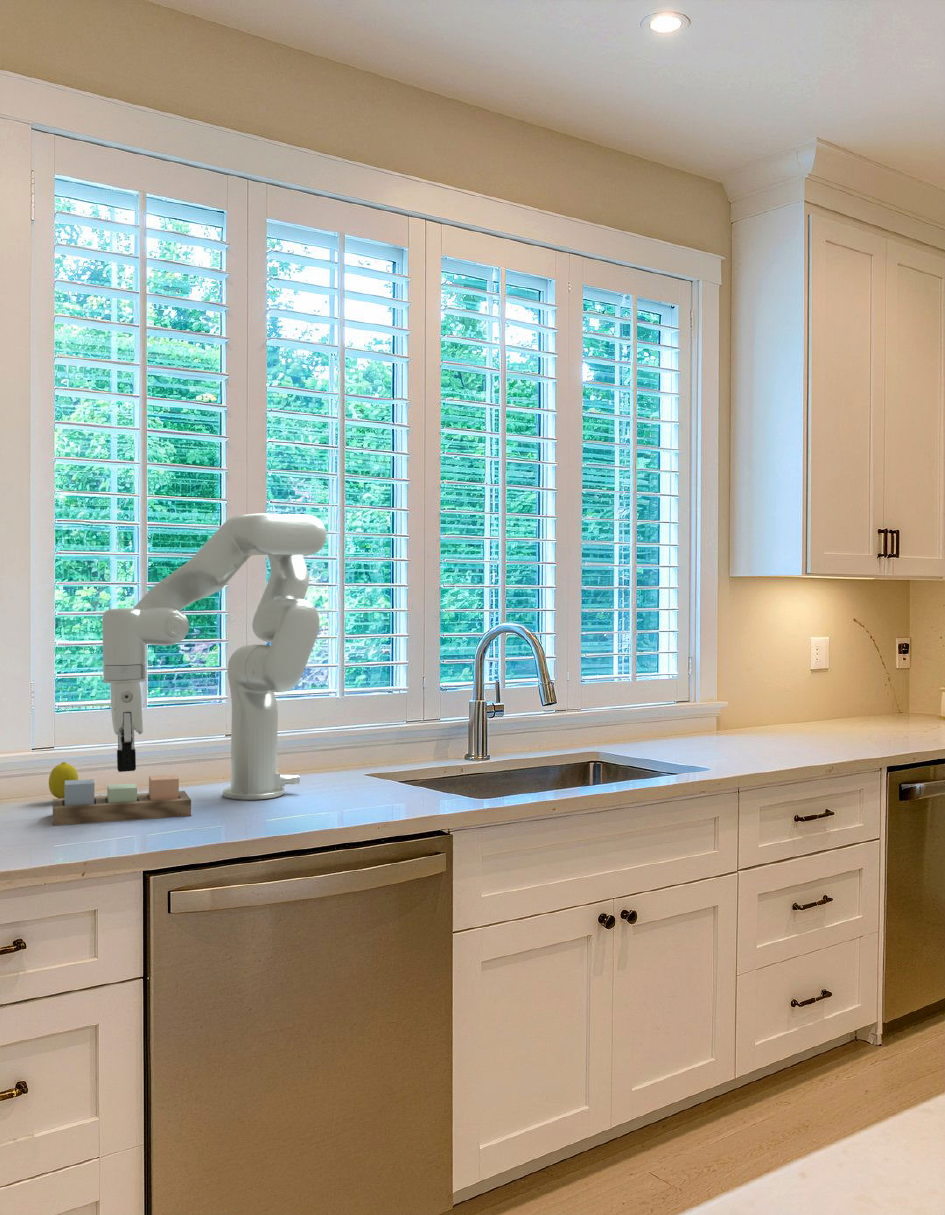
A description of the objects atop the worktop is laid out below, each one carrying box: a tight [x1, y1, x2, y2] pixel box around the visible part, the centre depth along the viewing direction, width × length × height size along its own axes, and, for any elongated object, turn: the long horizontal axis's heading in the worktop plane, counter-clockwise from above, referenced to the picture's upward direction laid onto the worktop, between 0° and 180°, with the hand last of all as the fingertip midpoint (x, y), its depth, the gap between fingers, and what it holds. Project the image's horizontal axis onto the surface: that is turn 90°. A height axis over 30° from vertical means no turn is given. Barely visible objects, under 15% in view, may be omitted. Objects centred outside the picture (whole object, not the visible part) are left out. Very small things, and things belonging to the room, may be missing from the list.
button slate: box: [65, 778, 95, 806], centre depth 183 cm, size 5×5×5 cm
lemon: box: [48, 761, 79, 799], centre depth 198 cm, size 6×6×8 cm
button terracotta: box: [148, 774, 180, 800], centre depth 189 cm, size 5×5×5 cm
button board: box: [52, 790, 192, 826], centre depth 186 cm, size 24×10×3 cm, turn 113°
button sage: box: [106, 783, 138, 803], centre depth 186 cm, size 5×5×5 cm
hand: (126, 770), depth 186 cm, fingers closed
